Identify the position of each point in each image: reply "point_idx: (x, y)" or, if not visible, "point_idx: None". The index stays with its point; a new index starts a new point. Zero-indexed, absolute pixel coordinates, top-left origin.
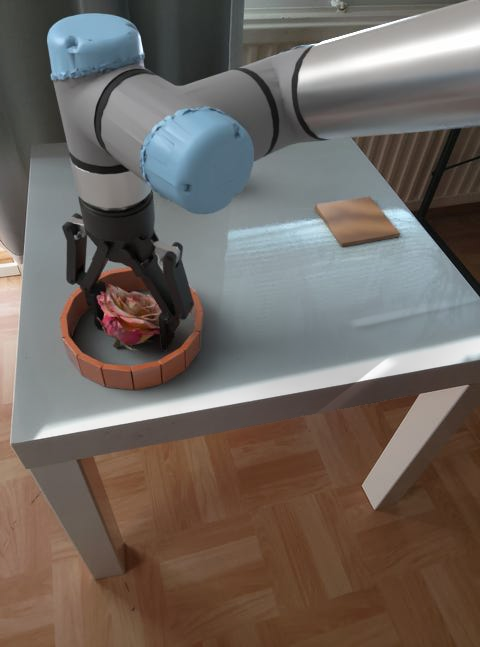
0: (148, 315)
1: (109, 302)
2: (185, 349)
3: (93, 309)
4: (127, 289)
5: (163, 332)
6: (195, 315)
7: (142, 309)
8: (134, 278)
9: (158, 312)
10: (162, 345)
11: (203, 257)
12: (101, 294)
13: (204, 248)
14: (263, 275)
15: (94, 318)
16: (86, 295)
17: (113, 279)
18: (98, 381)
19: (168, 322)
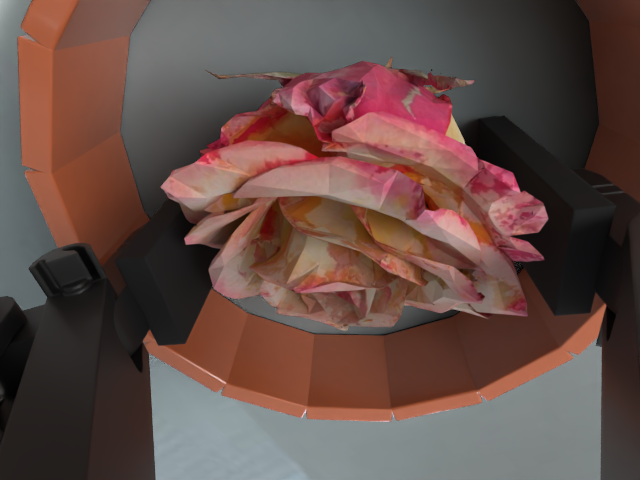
0: (225, 244)
1: (416, 204)
2: (26, 175)
3: (543, 157)
4: None
5: (166, 205)
6: None
7: (275, 261)
8: (468, 355)
9: (241, 278)
10: None
11: (346, 454)
12: (526, 241)
13: (361, 472)
14: (190, 458)
15: (523, 134)
16: (624, 203)
17: (539, 326)
18: None
19: (56, 251)
